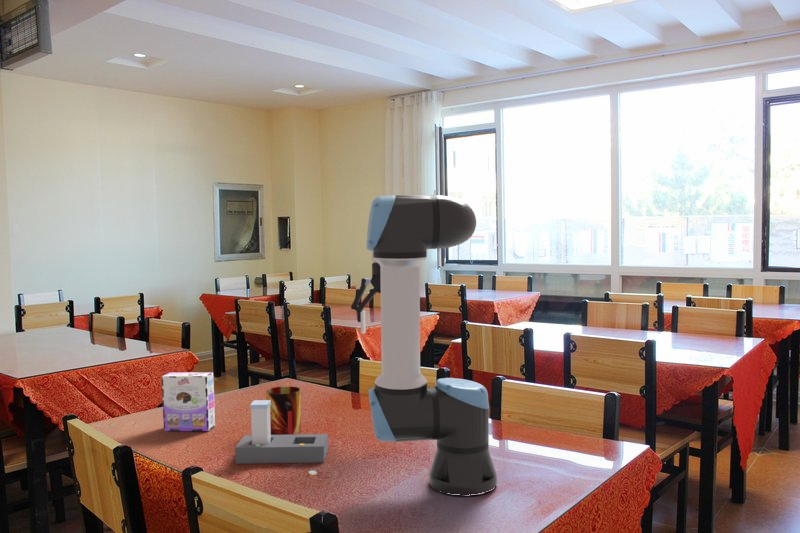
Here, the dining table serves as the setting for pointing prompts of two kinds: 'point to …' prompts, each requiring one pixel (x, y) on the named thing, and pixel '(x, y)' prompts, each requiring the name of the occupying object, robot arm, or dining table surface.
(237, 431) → the dining table surface
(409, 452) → the dining table surface
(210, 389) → the candy box
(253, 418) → the plug
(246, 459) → the panel
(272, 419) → the mug
